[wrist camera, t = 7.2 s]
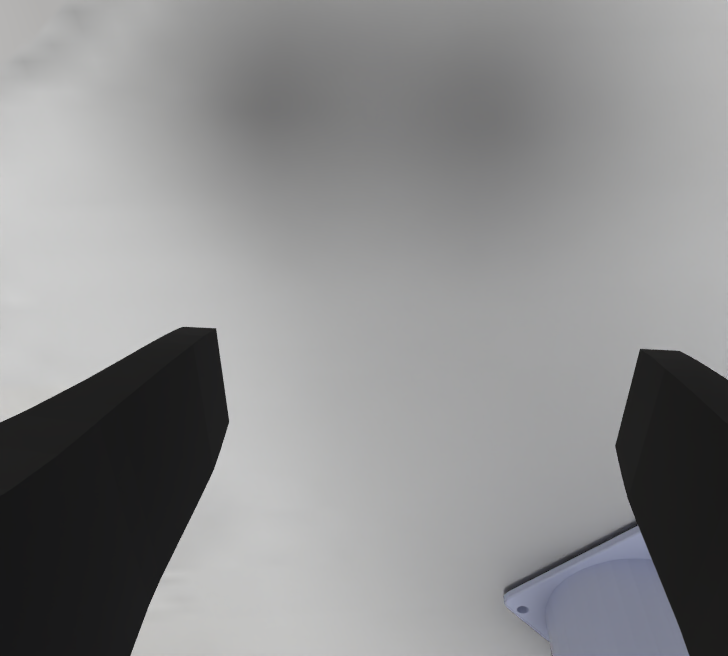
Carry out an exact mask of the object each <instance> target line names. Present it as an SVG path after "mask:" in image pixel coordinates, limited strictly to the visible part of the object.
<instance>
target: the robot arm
mask: <svg viewBox="0 0 728 656" xmlns="http://www.w3.org/2000/svg"><path fill="white" fill-rule="evenodd" d="M228 424H229V418H228V411H227V403H226V396H225V389H224V382H223V375H222V368H221V361H220V354H219V347H218V340H217V332H216V328H195V327H181V328H179V329H177V330H174V331H172V332H170V333H168V334H166V335H164V336H162V337H161V338H159V339H157V340H155V341H153V342H151V343H150V344H148V345H146V346H144V347H143V348H141V349H139V350H137V351H136V352H134V353H132V354H130V355H129V356H127V357H125V358H123V359H122V360H120V361H118V362H116V363H115V364H113V365H111V366H109V367H108V368H106V369H104V370H102V371H100V372H99V373H97V374H95V375H93V376H92V377H90V378H88V379H86V380H84V381H82V382H80V383H78V384H77V385H75V386H73V387H71V388H69V389H67V390H65V391H63V392H61V393H59V394H57V395H55V396H54V397H52V398H50V399H48V400H46V401H44V402H42V403H40V404H38V405H36V406H34V407H32V408H30V409H28V410H26V411H24V412H22V413H20V414H18V415H16V416H13V417H11V418H9V419H7V420H5V421H3V422H0V656H130V655H131V652H132V650H133V647H134V644H135V641H136V639H137V636H138V633H139V631H140V628H141V625H142V623H143V620H144V617H145V614H146V612H147V609H148V606H149V604H150V602H151V599H152V597H153V595H154V593H155V590H156V588H157V586H158V584H159V581H160V579H161V577H162V575H163V573H164V571H165V569H166V567H167V565H168V563H169V561H170V559H171V557H172V555H173V553H174V551H175V549H176V546H177V544H178V542H179V540H180V538H181V536H182V534H183V532H184V530H185V528H186V526H187V524H188V522H189V520H190V518H191V516H192V514H193V512H194V510H195V508H196V506H197V504H198V502H199V500H200V498H201V495H202V493H203V491H204V489H205V487H206V485H207V483H208V481H209V479H210V477H211V474H212V472H213V470H214V467H215V464H216V461H217V459H218V456H219V453H220V450H221V447H222V443H223V440H224V437H225V434H226V430H227V427H228ZM615 447H616V452H617V456H618V461H619V465H620V469H621V474H622V478H623V482H624V486H625V490H626V493H627V497H628V500H629V503H630V506H631V508H632V511H633V514H634V516H635V519H636V521H637V524H638V526H636V527H634V528H632V529H630V530H628V531H626V532H624V533H622V534H620V535H618V536H616V537H614V538H612V539H611V540H609V541H607V542H605V543H603V544H601V545H599V546H597V547H595V548H593V549H591V550H589V551H587V552H585V553H583V554H581V555H579V556H577V557H575V558H573V559H571V560H569V561H567V562H565V563H563V564H561V565H559V566H557V567H555V568H553V569H551V570H550V571H548V572H546V573H544V574H542V575H540V576H538V577H536V578H534V579H532V580H530V581H528V582H526V583H524V584H522V585H520V586H518V587H516V588H514V589H512V590H510V591H508V592H507V593H506V594H505V595H504V602H505V606H506V607H507V608H508V609H509V610H511V611H512V612H513V613H514V614H516V615H517V616H518V617H519V618H520V619H522V620H523V621H524V622H525V623H527V624H528V625H529V626H530V627H531V628H533V629H534V630H535V631H536V632H538V633H539V634H540V635H541V636H542V637H544V638H545V639H546V640H547V641H549V642H550V646H551V651H552V656H728V380H727V379H726V378H724V377H723V376H721V375H719V374H718V373H716V372H715V371H713V370H711V369H710V368H708V367H707V366H705V365H704V364H702V363H700V362H699V361H697V360H695V359H693V358H692V357H690V356H688V355H686V354H684V353H682V352H680V351H671V350H650V349H640V352H639V356H638V360H637V363H636V367H635V371H634V375H633V379H632V383H631V387H630V391H629V395H628V399H627V402H626V406H625V410H624V414H623V418H622V422H621V426H620V430H619V434H618V438H617V441H616V445H615Z"/></svg>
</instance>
